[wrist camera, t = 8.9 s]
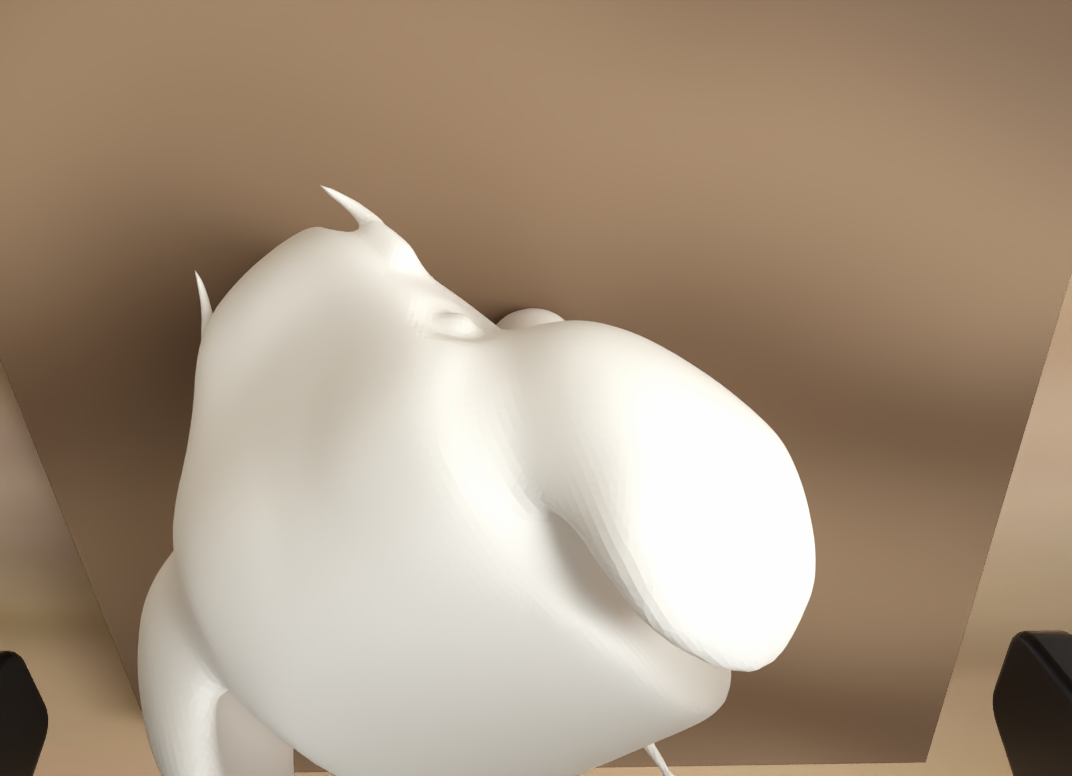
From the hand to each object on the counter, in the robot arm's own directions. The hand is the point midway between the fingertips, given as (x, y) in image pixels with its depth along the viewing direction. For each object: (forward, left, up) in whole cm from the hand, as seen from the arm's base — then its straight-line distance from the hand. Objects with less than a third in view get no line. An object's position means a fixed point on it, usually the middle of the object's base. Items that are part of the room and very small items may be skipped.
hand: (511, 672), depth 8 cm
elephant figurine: (0, 0, -5) cm, 5 cm away
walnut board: (0, 0, -6) cm, 6 cm away
